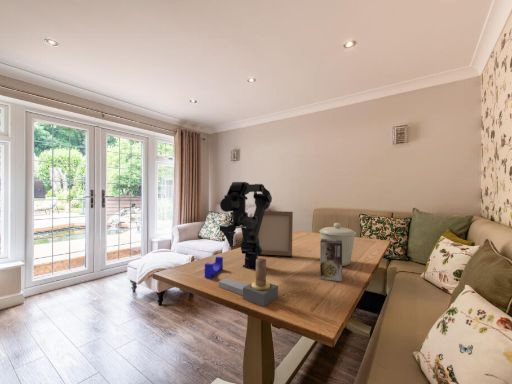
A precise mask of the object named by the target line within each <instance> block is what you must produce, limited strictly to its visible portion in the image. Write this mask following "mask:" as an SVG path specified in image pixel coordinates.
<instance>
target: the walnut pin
mask: <svg viewBox="0 0 512 384" xmlns="http://www.w3.org/2000/svg"><path fill="white" fill-rule="evenodd" d="M251 283H252V288H253V289H255V290H260V291H264V290H267V289H269V288H270V284H271V283H270V282H268V281H267V258H262V257H258V259H256V268H255V281H252V282H251ZM269 283H270V284H269Z"/></svg>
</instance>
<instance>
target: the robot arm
mask: <svg viewBox="0 0 512 384" xmlns="http://www.w3.org/2000/svg"><path fill="white" fill-rule="evenodd" d="M249 193H253V196H252V198H253V199H254V204H255V210H254V213H253V216H249V213H248V212H246V200H248V199H249V198H248V196H246V195H248V194H249ZM272 200H273V197H272V194H271V192H270V191H269V190H268V189H267V188H266V187H265V186H264V184H262V183H254V184H252V183H251V184H250V183H249V182H246V181H232V182H231V184H230V186H229V188H228V190H227V193H226V195H225V194H224V197H223V199H222V200H221V201H220V203H219V205H220V206H219V207H220V210H222V212H225V213H228V212H230V216H232V221H230V223H227V222H226V223H221V224H220V225H219V232H221V233H223V235H224V237H225V238H226V240H227V243H228V244H229V247H230V248H233V247H234V246H233V245H234V236H235V234H236V233H237V231H236V229H241V232H242V240H241V241H240V250H241V254H243V255H244V264H242V267H244V268H247V269H251V270H255V269H256V259H258V258H259V256H261V255H262V254H261V252H262V249H261V247H260V245H259V239H258V233H259V230H260V226H261V223H262V219H263V216H264V212H265V211H267V209H268V208H269V207H270V205H271V203H272Z"/></svg>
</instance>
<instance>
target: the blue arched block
mask: <svg viewBox="0 0 512 384" xmlns="http://www.w3.org/2000/svg"><path fill="white" fill-rule="evenodd" d="M223 259H224V257H223V256H216V257H215V260H214V261H215V262H213V263H209V262H208V263H207V262H206V263H205V264H204V279H213V278H214V277H215V276H216V275H218V274H220V272H221V271H223V269H224V268H223V267H224V260H223Z"/></svg>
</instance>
